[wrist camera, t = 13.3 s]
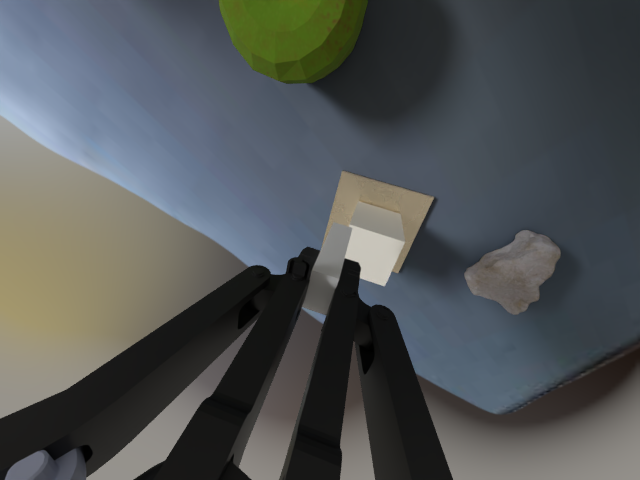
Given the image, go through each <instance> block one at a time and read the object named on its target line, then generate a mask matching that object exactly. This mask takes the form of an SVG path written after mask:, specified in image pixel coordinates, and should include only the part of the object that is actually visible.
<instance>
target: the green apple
mask: <svg viewBox="0 0 640 480" xmlns="http://www.w3.org/2000/svg"><path fill="white" fill-rule="evenodd" d="M367 4H368V0H219V5H220V12H221V14H222V17H223V19H224V22H225V24H226V27H227V30H228V32H229V35H230V37H231V40H232V42H233V45H234V46H235V47H236V49H237V50H238V51H239V53H240V54H241V55H242V56H243V58H244V59H245V60H246V61H247V63H248V64H249V65H250V67H251V68H252V69H253V70H255V71H257V72H259V73H262V74H264V75H266V76H269V77H271V78H273V79H275V80H278V81H280V82H283V83H286V84H293V83H313V82H315V81H317V80H319V79H322V78H324V77H325V76H327V75H328V74H330V73H331V72H332V71H334V70H335V69H337V68H338V67H339V66H340V65H341V64H342V63H343V62H344V60H345V59H346V58H347V57H348V55H349V54H350V53H351V52H352V51H353V49H354V46H355V43H356V41H357V38H358V36H359V33H360V31H361V28H362V24H363V20H364V15H365V11H366V8H367Z"/></svg>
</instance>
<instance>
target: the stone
mask: <svg viewBox="0 0 640 480" xmlns="http://www.w3.org/2000/svg"><path fill="white" fill-rule="evenodd" d="M560 255H561V251H560V249H559V248H558V246H557V245H556V244H555V243H554V242H552V241H551V240H550V238H549V237H547V236H545V235H541V234H536V233H534V232H531V231H529V230H522V231H521V232H519V233H517V234H516V236H515V239H514V241H513V242H512V243H510V244H509V245H508V246H504V247H503V248H501V249H497V250H495V251H492V252H490V253H487V254H485V255H484V256H483V257H482V258H481V259H480V261H479V262H477V263H476V264H475V265H473V266H471V267H469V268H467V269H466V270H467V271H466V272H465V273H464V276H465V279H466V281H467V284H468V286H469V288H470V290H471V292H472V293H473V294H474V295H479V296H482V297H485V298H488V299H491V300H495V301H497V302H498V303H500V304H501V305H502V306H503V307H504V308H505V309H506V310H507V311H508V313H511V314H514V315H518V314H519V313H520V312H524V311H526V310H527V308H528V305H529V304H530V303H531V302H535V301H538V299H539V296H540V293H539V286H540V285H541V284H542V283H543V282H544V281H545V280H547V279H548V278H550V277H551V275H552V274H553V272H554V271H555V264H556V262H557V261H558V259H559V258H560Z"/></svg>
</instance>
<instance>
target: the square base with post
mask: <svg viewBox="0 0 640 480" xmlns="http://www.w3.org/2000/svg"><path fill="white" fill-rule="evenodd" d="M433 199H434V197H433V196H430V195H427V194H423V193H420V192H416V191H413V190H410V189H406V188H403V187H399V186H396V185H392V184H389V183H385V182H382V181H378V180H375V179H372V178H368V177H365V176H361V175H358V174H354V173H351V172H347V171H344V170H343V171H342V174H341V178H340V181H339V185H338V189H337V193H336V196H335V200H334V204H333V207H332V211H331V215H330V218H329V222H328V226H327V229H326V233H325V237H324V241H323V244H324V242H325V240H326V238H327V235H328V233H329V231H330V229H331V227H332V224H333V222H335V223H338V224H342V225H345V226H348V227H349V224H350V222H351V219H352V216H353V213H354V211H355V208H356V205H357V202H358V201H360V202H363V203H367V204H370V205H373V206H376V207H380V208H383V209H386V210H389V211H393V212H396V213H399V214H401V219H402V226H403V232H404V238H405V244H404V246H403V248H402V250H401V252H400V254H399V256H398V259H397V261H396V263H395V265H394V267H393V269H392V272H395V273H398V272H399V270H400V268H401V266H402V264H403V262H404V260H405V258H406V256H407V254H408V251H409V249H410V247H411V245H412V243H413V241H414V239H415V237H416V235H417V233H418V230H419V228H420V226H421V224H422V222H423V220H424V218H425V216H426V214H427V212H428V209H429V207H430V205H431V203H432V201H433ZM323 244H322V247H323Z"/></svg>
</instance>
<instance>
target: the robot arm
mask: <svg viewBox="0 0 640 480" xmlns="http://www.w3.org/2000/svg"><path fill="white" fill-rule="evenodd" d="M351 232H352V228H351V227H348V226H345V225H342V224H338V223H335V222H333V224H332V227H331V229H330V231H329V233H328V235H327V238H326V240H325V242H324V244H323V247H322V249H321V251H319V250H316V249H313V248H310V247H306V248H305V249H303V250H302V252H301V253H300V255H299V257H294V258H291V259H290V260H289V261H288V265H287V270H286V274H283V275H273V274H271V272H270V271H269V269H267V268H266V267H264V266H260V265H255V266H251V267H249V268H247V269H246V270H244V271H243V272H241V273H240V274H238V275H237V276H235V277H234V278H232V279H231V280H229V281H228V282H226V283H225V284H223V285H222V286H220V287H219V288H217V289H216V290H214V291H213V292H211V293H210V294H208V295H207V296H205V297H204V298H202V299H201V300H199V301H198V302H196V303H195V304H193V305H192V306H190V307H189V308H188V309H186V310H184V311H183V312H181V313H180V314H179V315H177V316H175V317H174V318H173V319H171V320H170V321H168V322H167V323H165V324H164V325H162V326H161V327H159V328H158V329H156V330H155V331H153V332H152V333H150V334H149V335H147V336H146V337H144V338H143V339H141V340H140V341H138V342H137V343H135V344H134V345H132V346H131V347H130V348H128V349H126V350H125V351H123V352H122V353H120V354H119V355H117V356H116V357H114V358H113V359H111V360H110V361H108V362H107V363H106V364H104V365H103V366H101V367H99V368H98V369H97V370H95V371H94V372H92V373H91V374H89V375H88V376H86V377H85V378H83V379H82V380H80V381H79V382H77V383H76V384H74V385H73V386H71V387H70V388H68V389H67V390H65V391H62V392H60V393H58V394H55V395H53V396H51V397H49V398H47V399H44V400H42V401H40V402H37V403H35V404H33V405H30V406H28V407H26V408H24V409H22V410H19V411H17V412H15V413H12V414H10V415H8V416H5V417H3V418H1V419H0V480H86V477H88V476H89V475H91V474H92V473H94V472H95V471H96V470H98V469H99V468H100V467H101V466H103V465H104V464H105V463H106V462H108V461H109V460H110V459H111V458H113V457H114V456H115V455H116V454H117V453H118V452H120V450H122V449H123V448H124V447H125V446H126V445H127V444H128V443H130V442H131V441H132V440H133V439H134V438H135V437H136V436H137V435H138V434H139V433H140V432H141V431H142V430H143V429H144V428H145V427H146V426H147V425H148V424H149V423H150V422H151V421H152V420H153V419H154V418H156V417H157V416H158V415H159V414H160V413H161V412H162V411H163V410H164V409H165V408H166V407H167V406H168V405H169V404H170V403H171V402H172V401H173V400H174V399H175V398H176V397H177V396H178V395H179V394H180V393H181V392H182V391H183V390H184V389H185V388H186V387H187V386H189V384H191V383H192V382H193V381H194V380H195V379H196V378H197V377H198V376H199V375H200V374H201V373H202V372H203V371H204V370H205V369H206V368H207V367H208V366H209V365H210V364H211V363H212V362H213V361H214V360H215V359H216V358H217V357H218V356H220V355H221V354H222V353H223V352H224V351H225V349H227V348H228V347H229V346H230V345H231V344H232V343H233V342H234V341H235V340H236V339H237V338H238V337H239V336H240V335H241V334H242V333H243V332H244V331H245V330H246V329H247V328H248V327H249V326H250V325H251V324H253V323H254V322H255V321H256V320H257V319H258V320H257V322H256V323H255V325H254V327H253V328H252V330H251V332H250V333H249V335H248V337H247V338H246V340H245V342H244V343H243V345H242V347H241V348H240V350H239V351H238V354H237V355H236V357H235V358H234V360H233V362H232V364H231V365H230V367H229V368H228V370H227V372H226V373H225V375H224V376H223V378H222V380H221V382H220V383H219V385H218V386H217V388H216V390H215V391H214V393H213V394H212V395H211V396H210V397H208V398H206V399H205V400H204V401H203V402H202V403H201V405H200V407H199V408H198V409H197V411H196V412H195V414H194V416H193V417H192V419H191V420H190V422H189V424H188V425H187V427H186V429H185V430H184V432H183V433H182V435H181V436H180V438H179V440H178V441H177V443H176V444H175V446H174V448H173V449H172V451H171V452H170V454H169V456H168V457H167V459H166V460H165V461H163V462H161V463H159V464H157V465H156V466H154V467H152V468H150V469H149V470H147V471H146V472H144V473H143V474H142V475H140V476H138V477H137V478H136V479H134V480H251V479H250V478H249V477H248V476H247V475H246V474H245V473H244V472H242V471H241V470H240V469H239V468H238V467H239V465H240V462H241V459H242V455H243V452H244V450H245V447H246V444H247V442H248V439H249V437H250V434H251V431H252V430H253V427H254V425H255V422H256V420H257V417H258V415H259V413H260V410H261V407H262V405H263V403H264V400H265V398H266V395H267V393H268V390H269V388H270V386H271V383H272V381H273V378H274V376H275V373H276V371H277V368H278V366H279V364H280V361H281V359H282V356H283V354H284V351H285V349H286V346H287V344H288V342H289V339H290V337H291V334H292V332H293V329H294V327H295V324H296V322H297V320H298V317H299V315H300V311H301V308H302V307H304V308H307V309H310V310H312V311H315V312H318V313H321V314H324V315H327V316H326V318H325V321H324V324H323V327H322V330H321V331H322V332H321V336H320V339H319V343H318V346H317V350H316V353H315V357H314V360H313V364H312V367H311V371H310V375H309V378H308V381H307V385H306V389H305V392H304V396H303V400H302V403H301V407H300V410H299V413H298V417H297V420H296V424H295V427H294V431H293V434H292V438H291V442H290V445H289V449H288V453H287V456H286V459H285V463H284V466H283V469H282V472H281V476H280V479H279V480H340V473H341V463H342V451H341V449H340V439H341V431H342V423H343V416H344V408H345V401H346V392H347V385H348V378H349V370H350V362H351V354H352V347H353V341H354V342H355V348H356V355H357V361H358V368H359V375H360V381H361V388H362V394H363V401H364V408H365V414H366V421H367V428H368V434H369V441H370V448H371V454H372V461H373V468H374V474H375V480H453V478H452V475H451V472H450V470H449V467H448V464H447V461H446V459H445V455H444V453H443V450H442V447H441V444H440V441H439V439H438V436H437V433H436V430H435V427H434V425H433V422H432V419H431V416H430V413H429V411H428V408H427V405H426V402H425V399H424V396H423V393H422V391H421V388H420V385H419V382H418V380H417V377H416V374H415V371H414V368H413V365H412V362H411V360H410V357H409V354H408V351H407V348H406V345H405V343H404V340H403V337H402V334H401V331H400V328H399V326H398V323H397V320H396V317H395V315H394V313H393V312H392V311H391V310H390V309H389V308H387V307H385V306H382V305H374V306H372V307H370V306H368V305H367V304H365V303H364V302H363V301H362V300H361V299H360V298H359V294H358V286H359V279H360V272H361V267H360V264H359V262H355V261H352V260H349V259H346V258H345V255H346V251H347V247H348V243H349V240H350V236H351ZM302 305H303V306H302Z"/></svg>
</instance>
